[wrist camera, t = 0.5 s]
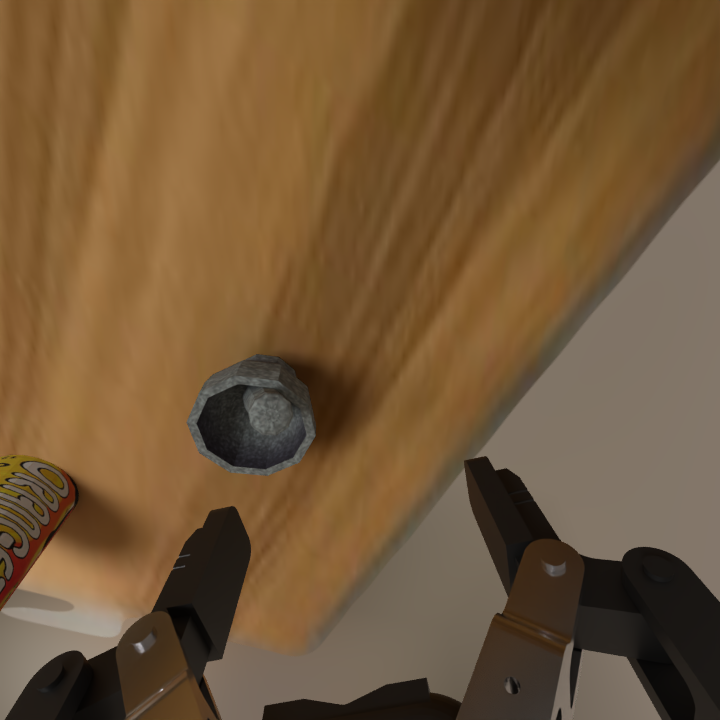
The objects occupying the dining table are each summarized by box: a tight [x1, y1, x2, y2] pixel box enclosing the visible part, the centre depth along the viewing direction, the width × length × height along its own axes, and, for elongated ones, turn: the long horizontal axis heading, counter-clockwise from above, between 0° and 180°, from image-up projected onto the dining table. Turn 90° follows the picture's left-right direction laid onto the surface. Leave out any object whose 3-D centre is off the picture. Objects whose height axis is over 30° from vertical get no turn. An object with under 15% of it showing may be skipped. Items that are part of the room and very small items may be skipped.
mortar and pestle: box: [187, 354, 316, 476], centre depth 31 cm, size 11×9×12 cm
